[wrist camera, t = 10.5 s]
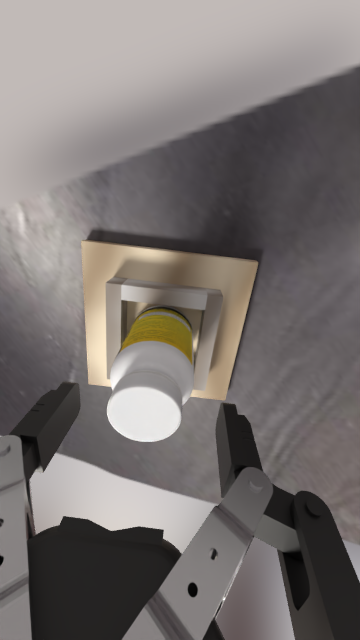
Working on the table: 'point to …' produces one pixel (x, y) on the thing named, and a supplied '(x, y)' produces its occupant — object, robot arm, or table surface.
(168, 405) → the supplement bottle
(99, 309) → the socket stand
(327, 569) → the robot arm
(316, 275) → the table surface
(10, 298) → the table surface
